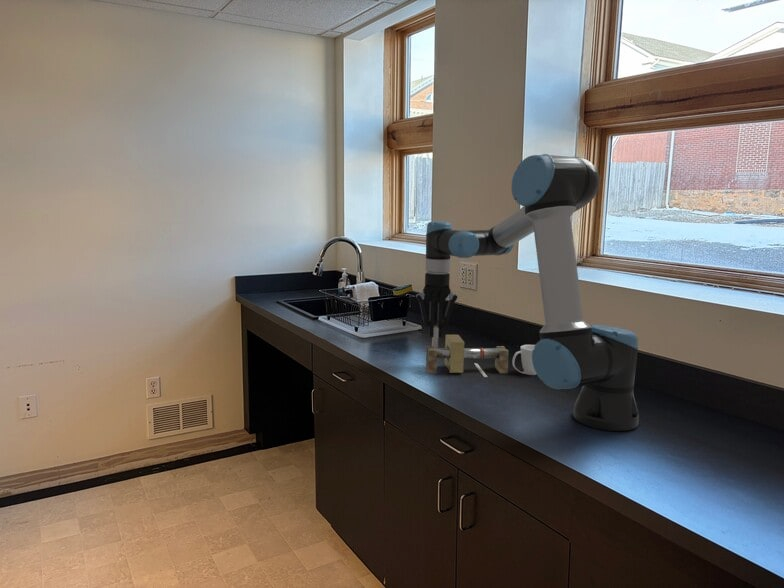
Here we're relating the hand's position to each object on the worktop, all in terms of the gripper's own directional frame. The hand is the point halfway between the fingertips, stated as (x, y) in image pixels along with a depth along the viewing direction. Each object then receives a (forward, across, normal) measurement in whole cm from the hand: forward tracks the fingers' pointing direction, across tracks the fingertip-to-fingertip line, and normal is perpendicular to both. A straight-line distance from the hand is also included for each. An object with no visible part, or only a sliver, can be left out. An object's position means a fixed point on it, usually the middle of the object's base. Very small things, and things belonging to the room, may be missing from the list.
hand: (434, 346), depth 188 cm
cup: (+7, -27, +8) cm, 29 cm away
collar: (+6, -5, +4) cm, 9 cm away
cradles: (+6, -9, +4) cm, 12 cm away
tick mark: (+6, -14, +4) cm, 16 cm away
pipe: (+3, -9, +4) cm, 11 cm away
